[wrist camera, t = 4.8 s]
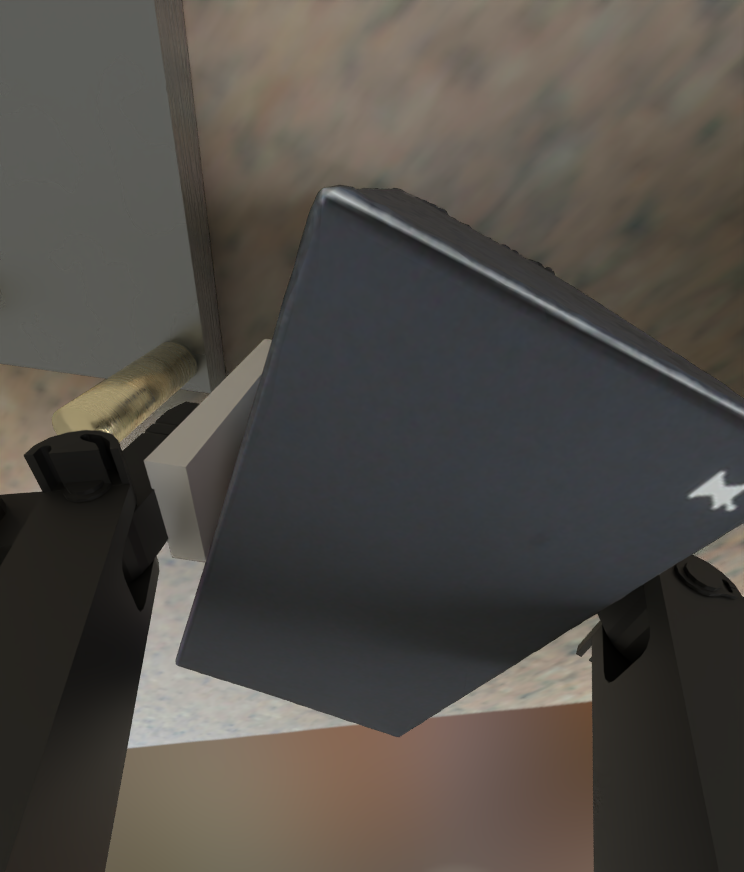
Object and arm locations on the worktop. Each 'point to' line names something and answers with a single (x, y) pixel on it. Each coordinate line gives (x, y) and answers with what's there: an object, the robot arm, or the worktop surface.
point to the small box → (446, 469)
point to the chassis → (104, 208)
